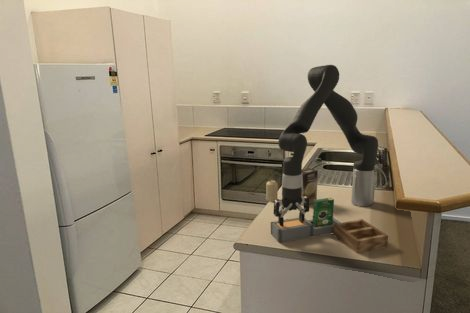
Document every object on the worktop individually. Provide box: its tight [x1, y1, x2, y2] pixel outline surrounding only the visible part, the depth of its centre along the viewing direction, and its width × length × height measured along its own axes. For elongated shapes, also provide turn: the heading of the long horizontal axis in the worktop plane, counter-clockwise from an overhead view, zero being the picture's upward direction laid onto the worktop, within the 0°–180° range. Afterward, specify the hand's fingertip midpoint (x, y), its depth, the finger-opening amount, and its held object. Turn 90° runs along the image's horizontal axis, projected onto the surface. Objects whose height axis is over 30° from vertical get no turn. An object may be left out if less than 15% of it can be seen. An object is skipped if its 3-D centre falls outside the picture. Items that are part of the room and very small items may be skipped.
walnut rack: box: [332, 218, 389, 254], centre depth 134 cm, size 13×15×4 cm
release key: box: [276, 220, 307, 229], centre depth 140 cm, size 11×5×4 cm, turn 107°
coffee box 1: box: [300, 167, 319, 207], centre depth 171 cm, size 9×6×16 cm
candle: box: [265, 179, 279, 203], centre depth 176 cm, size 6×6×10 cm
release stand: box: [270, 217, 342, 243], centre depth 141 cm, size 28×8×5 cm, turn 107°
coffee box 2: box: [312, 197, 335, 227], centre depth 143 cm, size 8×3×13 cm, turn 109°
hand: (291, 223), depth 139 cm, fingers open, 8 cm apart
